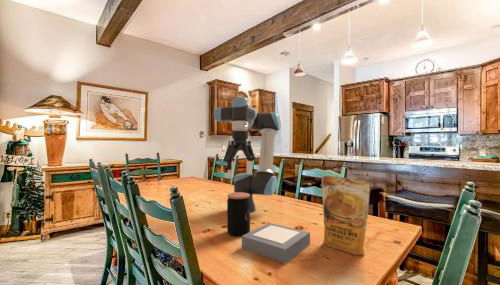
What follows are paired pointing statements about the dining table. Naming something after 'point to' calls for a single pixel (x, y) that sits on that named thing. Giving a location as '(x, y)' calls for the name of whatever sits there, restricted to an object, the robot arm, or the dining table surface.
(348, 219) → the pancake mix bag
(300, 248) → the stand
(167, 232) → the dining table surface
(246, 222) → the coffee jar
